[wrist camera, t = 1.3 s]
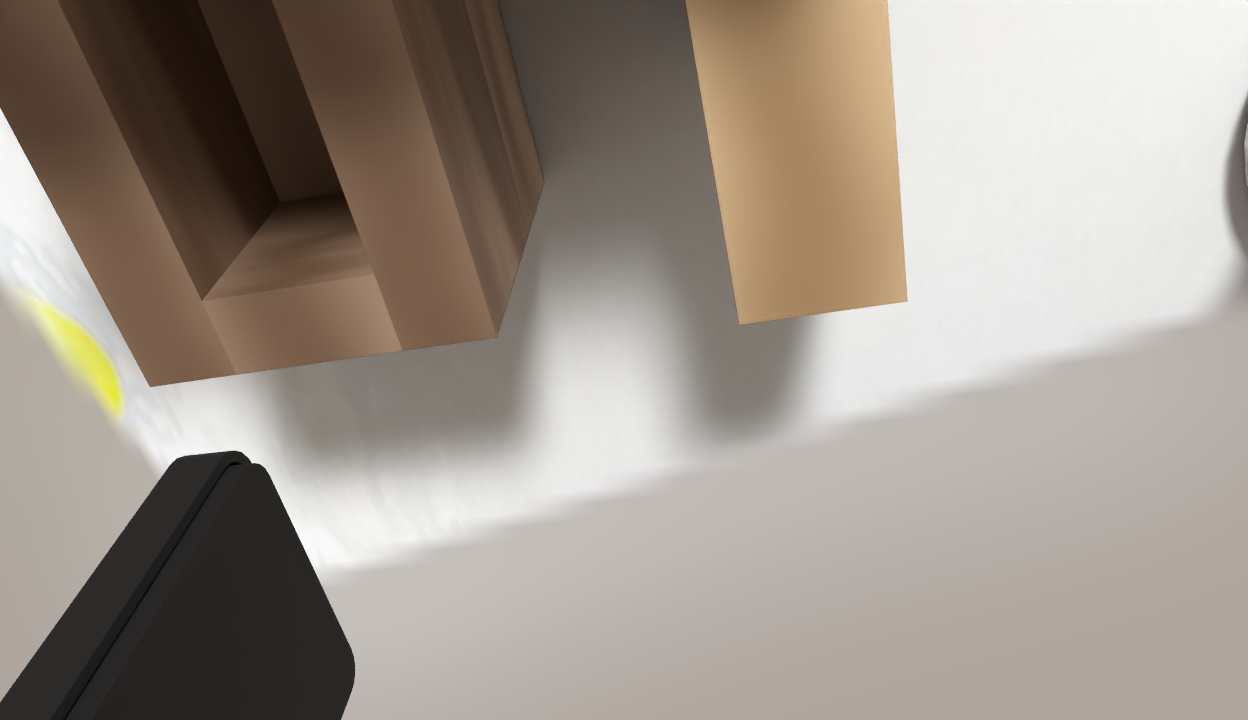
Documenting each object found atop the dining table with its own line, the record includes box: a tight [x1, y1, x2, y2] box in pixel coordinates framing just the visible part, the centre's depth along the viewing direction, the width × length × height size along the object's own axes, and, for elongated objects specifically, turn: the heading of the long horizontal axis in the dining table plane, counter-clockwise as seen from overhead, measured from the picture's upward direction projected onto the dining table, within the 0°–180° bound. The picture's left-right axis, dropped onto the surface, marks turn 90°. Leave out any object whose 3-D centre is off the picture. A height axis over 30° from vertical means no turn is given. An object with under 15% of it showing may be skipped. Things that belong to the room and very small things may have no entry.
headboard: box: [0, 0, 544, 387], centre depth 22 cm, size 20×15×16 cm
